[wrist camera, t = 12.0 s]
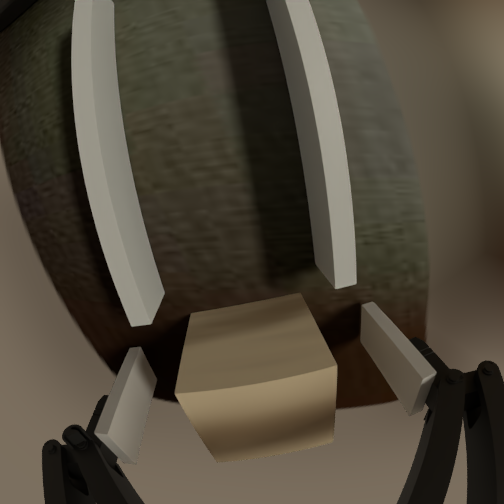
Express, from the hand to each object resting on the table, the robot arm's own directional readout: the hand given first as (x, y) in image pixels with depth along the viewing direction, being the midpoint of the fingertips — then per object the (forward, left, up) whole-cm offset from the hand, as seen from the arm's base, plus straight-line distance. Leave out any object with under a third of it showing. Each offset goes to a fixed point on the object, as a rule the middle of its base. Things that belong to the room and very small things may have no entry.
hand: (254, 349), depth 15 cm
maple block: (0, 0, -1) cm, 1 cm away
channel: (-13, 0, -1) cm, 13 cm away
